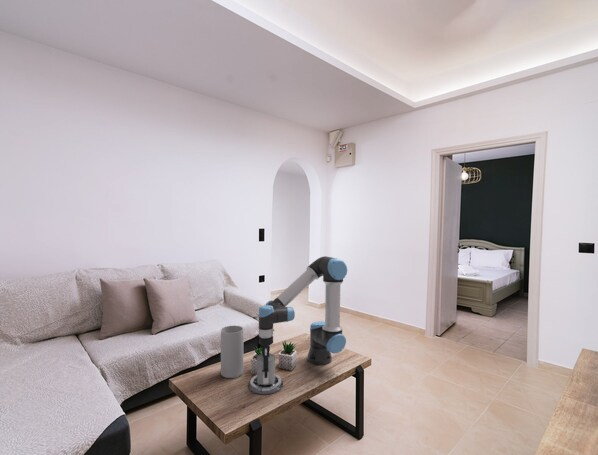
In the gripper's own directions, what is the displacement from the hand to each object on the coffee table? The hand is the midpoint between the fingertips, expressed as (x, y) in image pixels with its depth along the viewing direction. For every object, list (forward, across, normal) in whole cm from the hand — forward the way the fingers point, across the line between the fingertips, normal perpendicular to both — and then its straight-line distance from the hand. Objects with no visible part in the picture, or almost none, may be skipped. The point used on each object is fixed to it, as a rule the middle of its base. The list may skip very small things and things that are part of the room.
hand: (265, 378), depth 165 cm
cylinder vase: (+4, +15, +19) cm, 25 cm away
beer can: (+1, 0, 0) cm, 1 cm away
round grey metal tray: (+4, 0, 0) cm, 4 cm away
